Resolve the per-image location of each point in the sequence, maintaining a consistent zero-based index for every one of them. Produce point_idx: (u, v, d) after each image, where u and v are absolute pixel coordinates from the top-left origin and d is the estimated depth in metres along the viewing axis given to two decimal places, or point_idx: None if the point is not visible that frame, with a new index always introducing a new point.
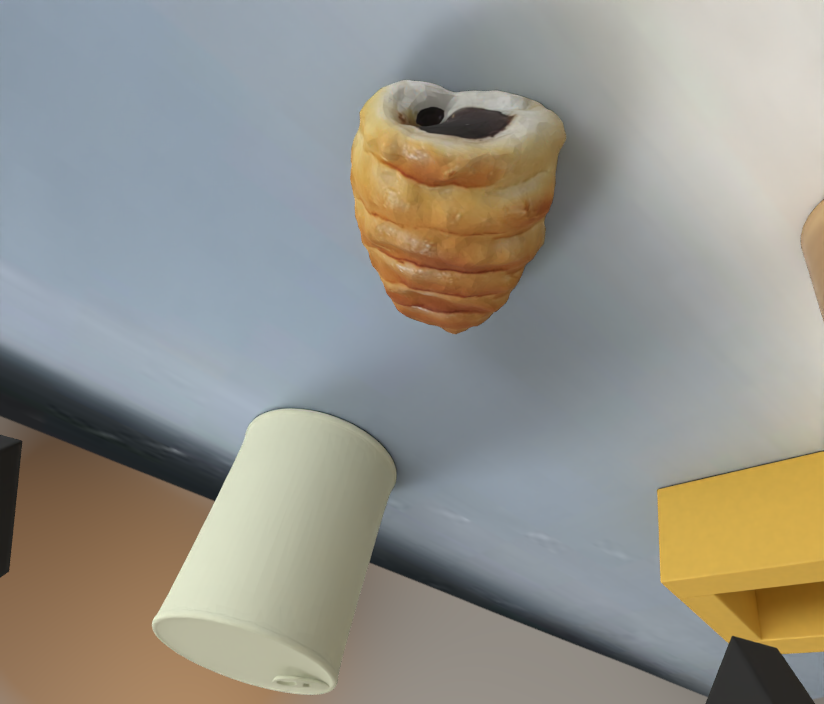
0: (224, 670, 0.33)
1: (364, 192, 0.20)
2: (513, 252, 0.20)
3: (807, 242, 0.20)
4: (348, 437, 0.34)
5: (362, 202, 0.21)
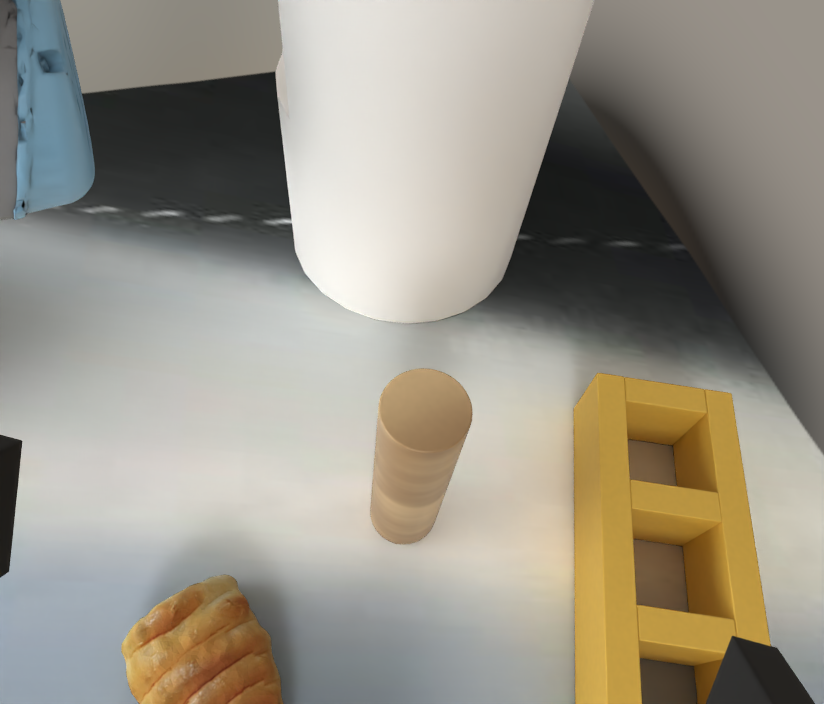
0: None
1: (140, 680, 0.31)
2: (242, 631, 0.32)
3: (381, 531, 0.37)
4: None
5: (145, 693, 0.31)
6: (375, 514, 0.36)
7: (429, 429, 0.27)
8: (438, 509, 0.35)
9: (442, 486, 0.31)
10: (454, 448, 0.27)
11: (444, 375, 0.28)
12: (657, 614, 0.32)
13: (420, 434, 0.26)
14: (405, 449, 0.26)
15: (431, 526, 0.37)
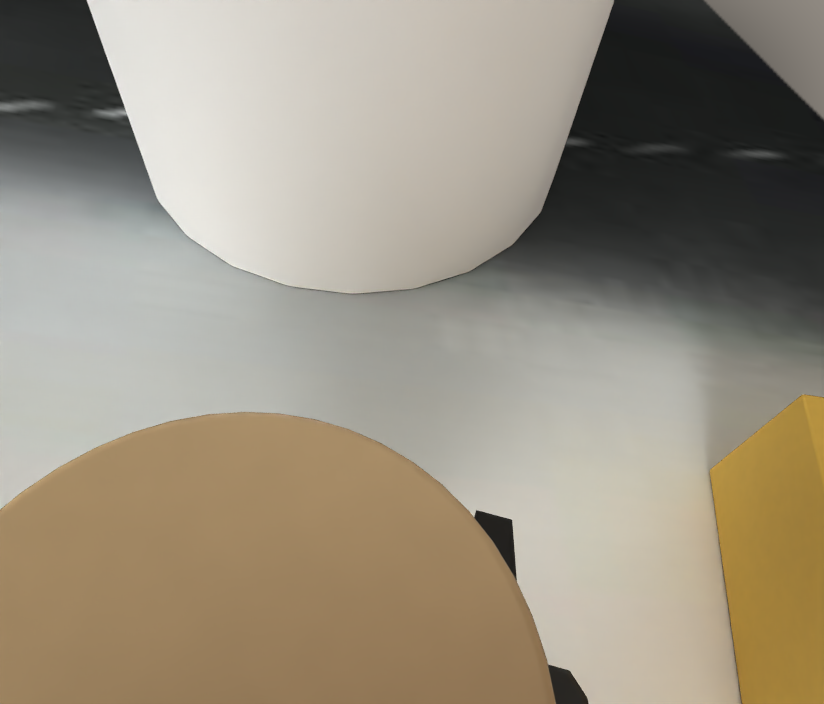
0: None
1: None
2: None
3: None
4: None
5: None
6: None
7: None
8: None
9: None
10: None
11: (373, 452, 0.05)
12: None
13: None
14: None
15: None
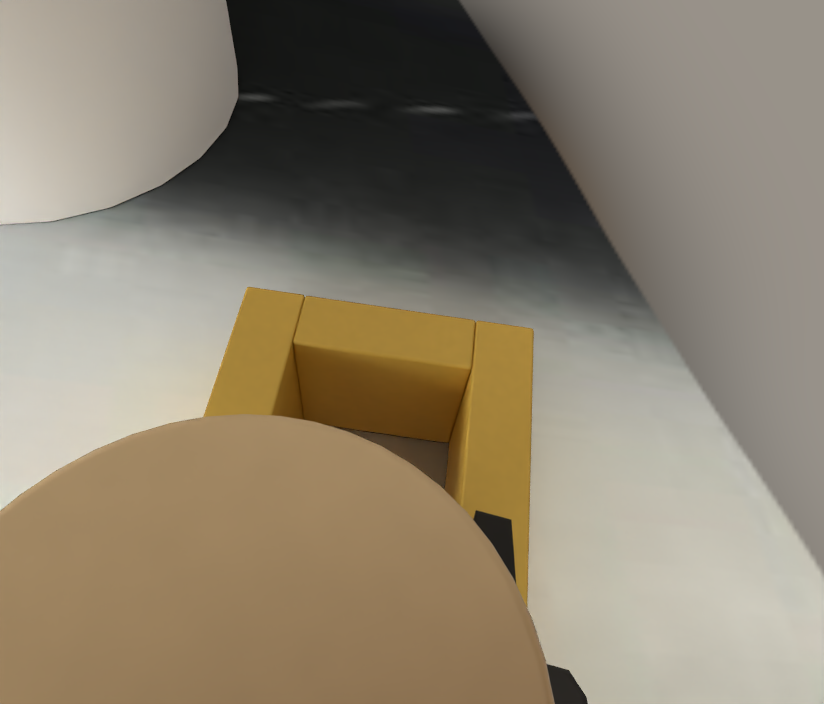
0: None
1: None
2: None
3: None
4: None
5: None
6: None
7: None
8: None
9: None
10: None
11: (372, 455, 0.05)
12: None
13: None
14: None
15: None
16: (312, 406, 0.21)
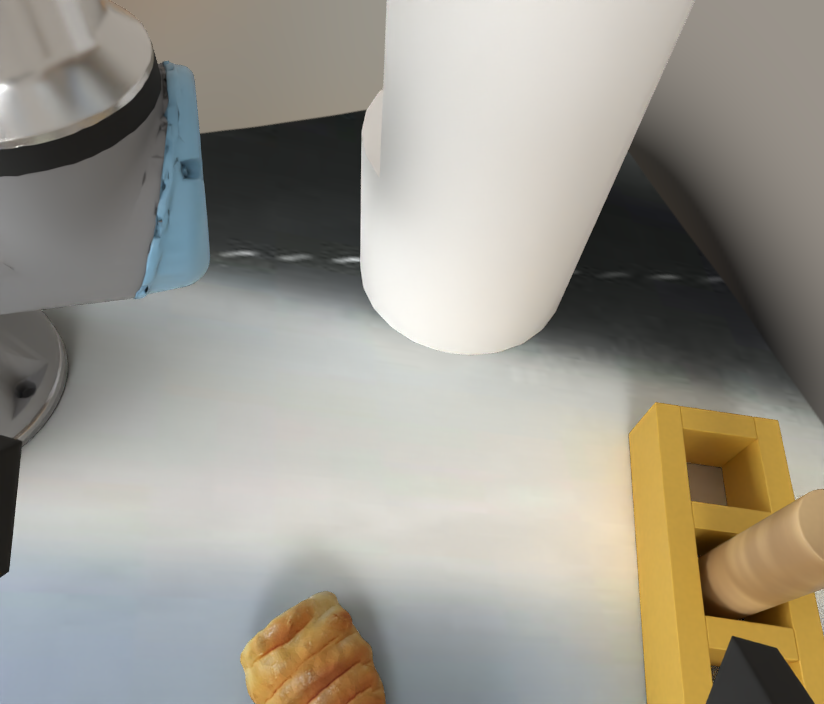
0: None
1: (263, 687, 0.34)
2: (350, 642, 0.35)
3: None
4: None
5: (267, 699, 0.34)
6: None
7: None
8: None
9: None
10: None
11: None
12: (723, 623, 0.36)
13: None
14: None
15: None
16: None
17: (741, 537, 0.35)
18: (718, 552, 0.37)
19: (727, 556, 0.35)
